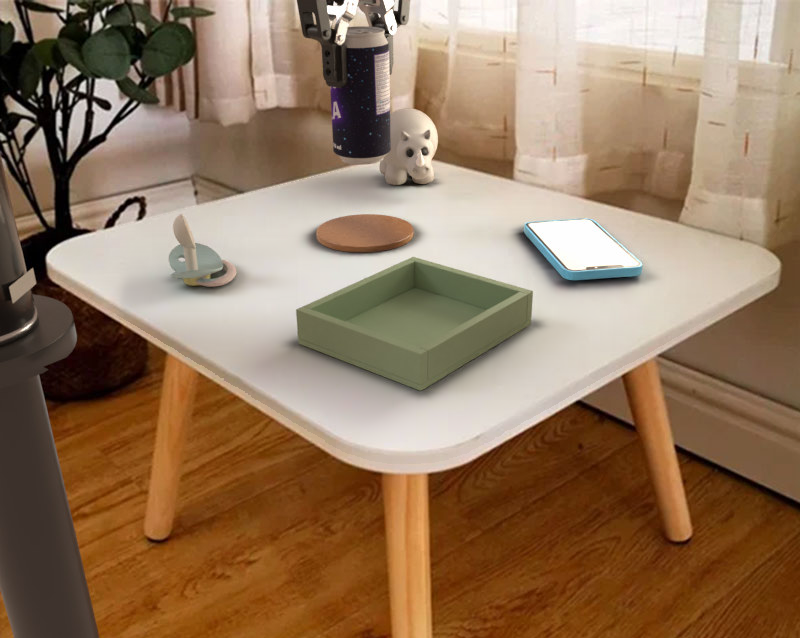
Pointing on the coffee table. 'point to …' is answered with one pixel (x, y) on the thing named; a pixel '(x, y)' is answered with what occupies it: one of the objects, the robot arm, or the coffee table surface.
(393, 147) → the round bodied animal figurine
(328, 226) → the coaster
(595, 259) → the smartphone
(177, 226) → the pacifier
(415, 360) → the tray
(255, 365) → the coffee table surface
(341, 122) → the beverage can
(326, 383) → the coffee table surface
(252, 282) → the coffee table surface
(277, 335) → the coffee table surface
